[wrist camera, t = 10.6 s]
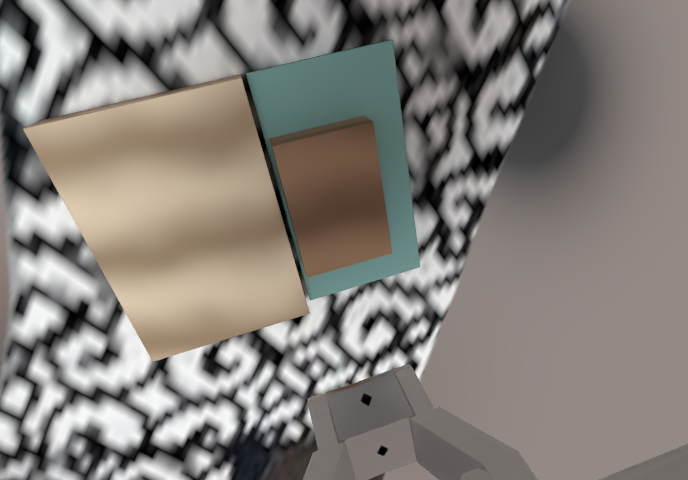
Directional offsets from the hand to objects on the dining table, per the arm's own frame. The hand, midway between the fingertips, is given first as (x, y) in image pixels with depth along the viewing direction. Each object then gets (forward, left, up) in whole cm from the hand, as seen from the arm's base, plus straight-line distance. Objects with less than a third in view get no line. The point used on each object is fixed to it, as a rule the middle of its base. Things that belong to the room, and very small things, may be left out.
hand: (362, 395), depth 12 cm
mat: (+1, +4, -18) cm, 19 cm away
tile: (+1, +3, -18) cm, 18 cm away
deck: (+1, -6, -18) cm, 19 cm away
